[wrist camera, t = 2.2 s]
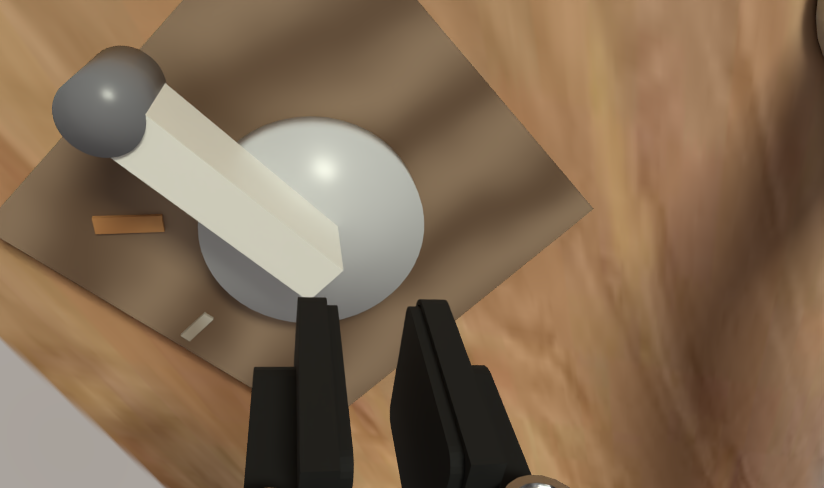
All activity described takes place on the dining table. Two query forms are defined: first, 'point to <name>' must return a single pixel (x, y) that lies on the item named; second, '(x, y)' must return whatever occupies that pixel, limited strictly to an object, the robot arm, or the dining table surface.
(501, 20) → the dining table surface
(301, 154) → the dial
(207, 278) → the dial plate
